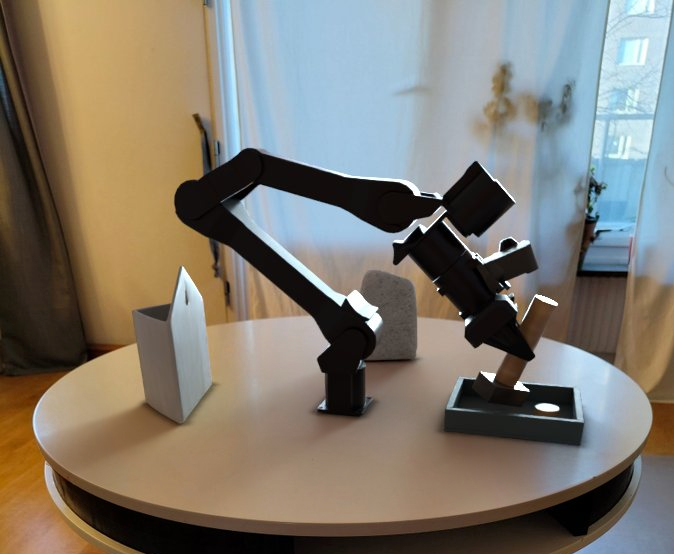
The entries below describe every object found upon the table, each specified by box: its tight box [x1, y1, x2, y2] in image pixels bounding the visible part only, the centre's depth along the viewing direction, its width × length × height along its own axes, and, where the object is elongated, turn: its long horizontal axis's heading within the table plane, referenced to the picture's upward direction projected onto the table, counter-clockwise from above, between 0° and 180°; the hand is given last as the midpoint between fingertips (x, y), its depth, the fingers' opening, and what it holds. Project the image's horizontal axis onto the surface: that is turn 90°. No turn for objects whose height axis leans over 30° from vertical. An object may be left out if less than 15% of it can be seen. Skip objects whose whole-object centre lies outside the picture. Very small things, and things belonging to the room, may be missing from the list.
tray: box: [443, 376, 585, 446], centre depth 82 cm, size 14×17×3 cm
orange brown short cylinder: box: [534, 404, 560, 418], centre depth 80 cm, size 3×3×2 cm
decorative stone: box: [359, 269, 418, 361], centre depth 106 cm, size 11×6×15 cm, turn 84°
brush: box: [472, 294, 559, 407], centre depth 79 cm, size 6×4×14 cm, turn 114°
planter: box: [131, 265, 213, 425], centre depth 86 cm, size 16×8×19 cm, turn 177°
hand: (531, 355), depth 79 cm, fingers closed on brush, 3 cm apart
